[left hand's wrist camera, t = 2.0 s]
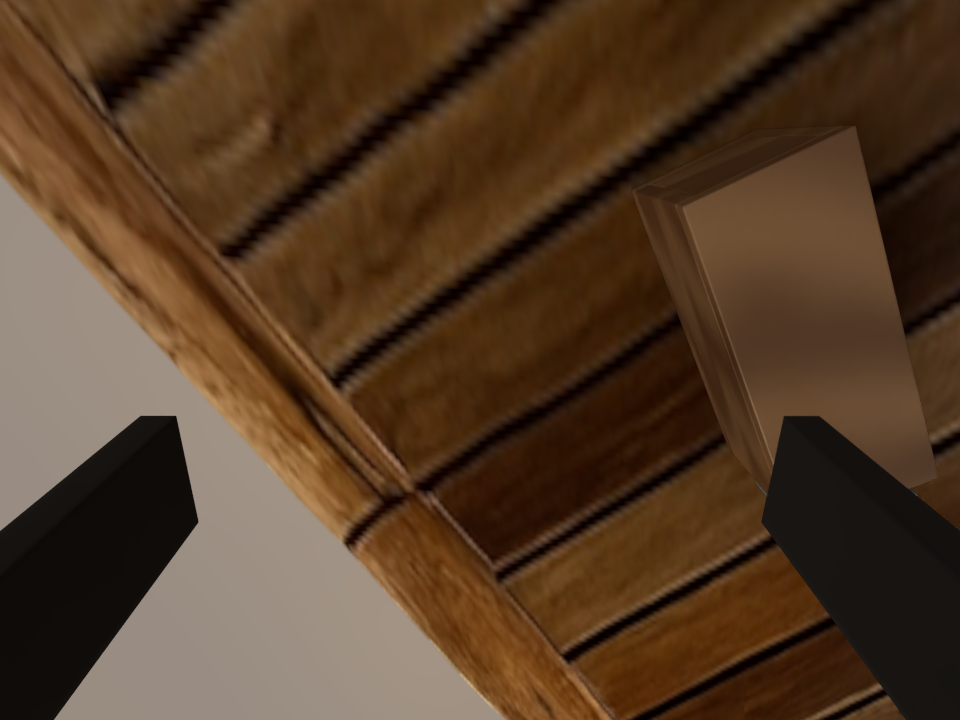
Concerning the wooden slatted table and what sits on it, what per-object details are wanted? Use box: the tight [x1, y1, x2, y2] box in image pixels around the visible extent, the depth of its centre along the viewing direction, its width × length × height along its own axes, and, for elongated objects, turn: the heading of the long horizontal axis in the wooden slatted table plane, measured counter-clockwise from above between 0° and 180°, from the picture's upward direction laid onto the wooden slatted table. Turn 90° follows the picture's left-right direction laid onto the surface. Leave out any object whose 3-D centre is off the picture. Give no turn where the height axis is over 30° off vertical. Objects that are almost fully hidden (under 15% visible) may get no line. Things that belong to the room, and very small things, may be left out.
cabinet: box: [631, 126, 938, 494], centre depth 28 cm, size 16×7×8 cm, turn 26°
